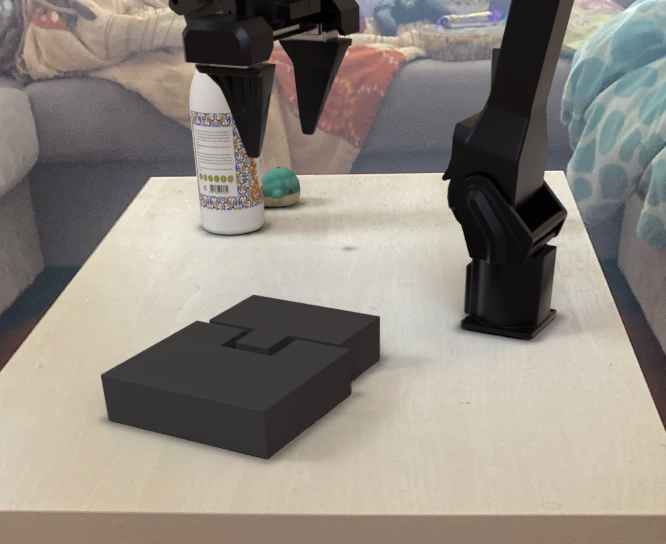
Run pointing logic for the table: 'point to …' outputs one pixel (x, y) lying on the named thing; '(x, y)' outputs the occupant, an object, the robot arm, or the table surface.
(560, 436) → the table surface
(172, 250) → the table surface
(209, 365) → the charcoal pad
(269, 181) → the whale figurine
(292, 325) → the black t-shaped block
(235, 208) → the bath foam
